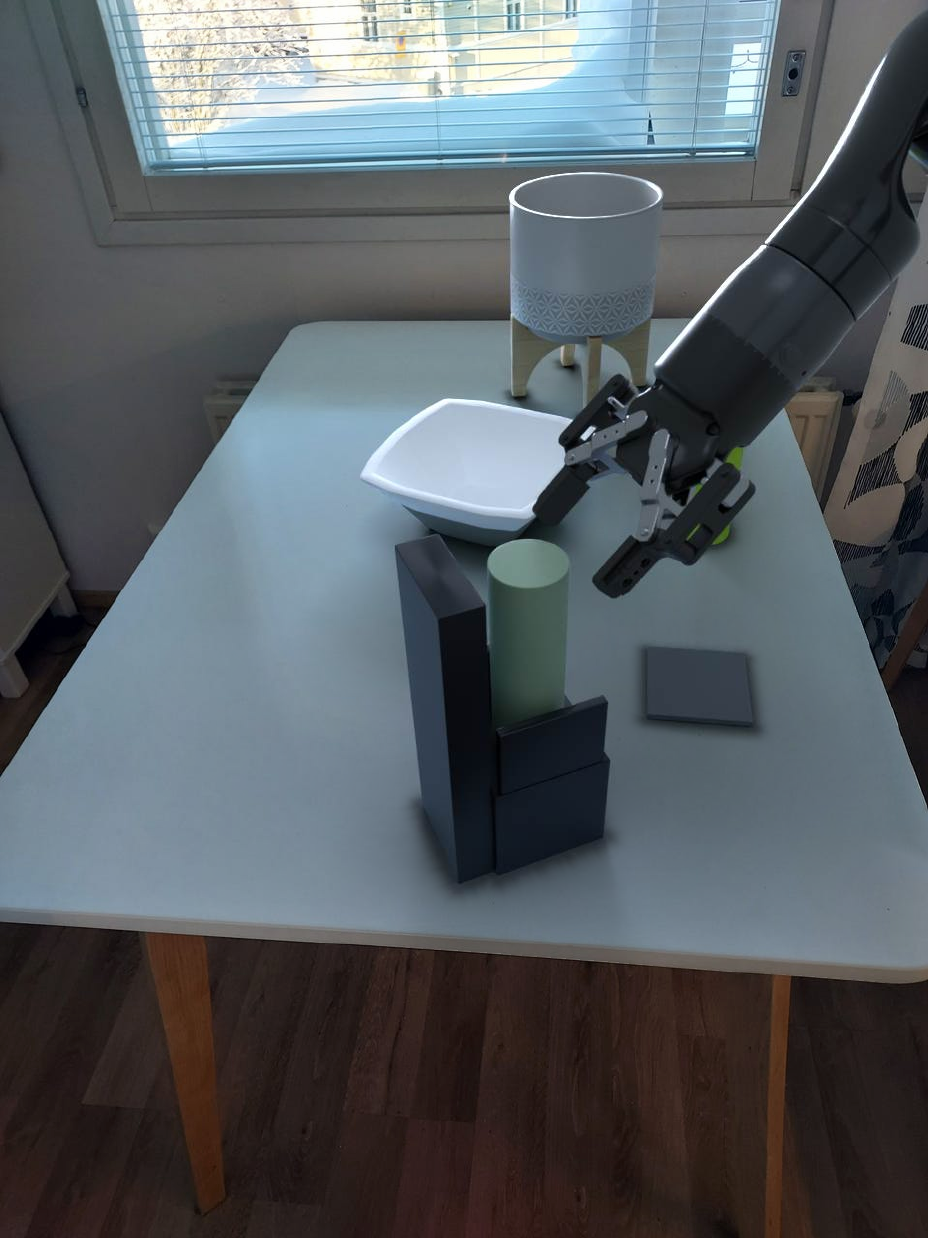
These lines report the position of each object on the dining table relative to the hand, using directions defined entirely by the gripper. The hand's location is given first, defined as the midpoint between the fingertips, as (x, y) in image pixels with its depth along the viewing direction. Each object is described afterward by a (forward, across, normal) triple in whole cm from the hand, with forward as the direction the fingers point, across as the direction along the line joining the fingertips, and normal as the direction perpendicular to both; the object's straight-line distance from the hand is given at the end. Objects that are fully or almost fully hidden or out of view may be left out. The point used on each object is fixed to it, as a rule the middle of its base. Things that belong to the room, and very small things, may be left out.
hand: (570, 553), depth 59 cm
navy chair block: (+21, 0, -14) cm, 25 cm away
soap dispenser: (-4, +28, -40) cm, 49 cm away
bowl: (+10, +41, -25) cm, 49 cm away
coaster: (+5, +7, -30) cm, 31 cm away
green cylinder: (+13, 0, -9) cm, 16 cm away
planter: (-7, +65, -42) cm, 78 cm away
